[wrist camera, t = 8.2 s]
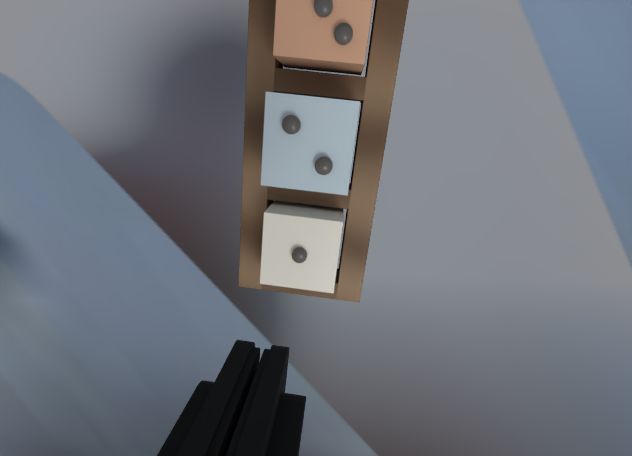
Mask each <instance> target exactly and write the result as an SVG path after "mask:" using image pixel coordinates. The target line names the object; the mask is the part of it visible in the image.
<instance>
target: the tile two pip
mask: <svg viewBox="0 0 632 456" xmlns="http://www.w3.org/2000/svg"><path fill="white" fill-rule="evenodd" d="M359 108H360V101H350V100H341V99H331V98H322V97H313V96H303V95H294V94H284V93H275V92H266V95H265V114H264V132H263V151H262V169H261V185H263V186H272V187H280V188H288V189H297V190H305V191H314V192H322V193H330V194H339V195H347V196H348V189H349V181H350V174H351V167H352V160H353V152H354V145H355V137H356V130H357V122H358V116H359Z"/></svg>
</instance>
